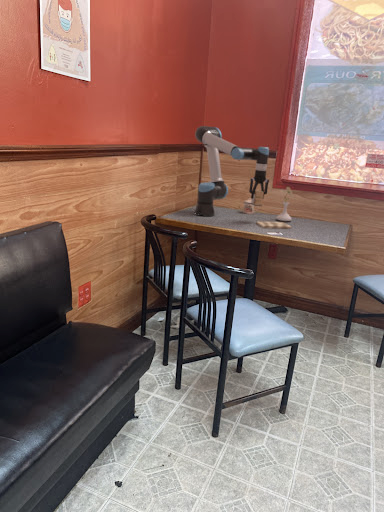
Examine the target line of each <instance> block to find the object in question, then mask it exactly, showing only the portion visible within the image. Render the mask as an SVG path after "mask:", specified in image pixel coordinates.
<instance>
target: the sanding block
mask: <svg viewBox="0 0 384 512" xmlns="http://www.w3.org/2000/svg"><path fill="white" fill-rule="evenodd" d="M254 194H255V198H254V204H253V203H252V201H251V204H253V205H254V206H255V207H257V206H258V207H263V200H264V199H263V194H264V192H263V191H261V190H260V189H256V190H255V192H254Z"/></svg>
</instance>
